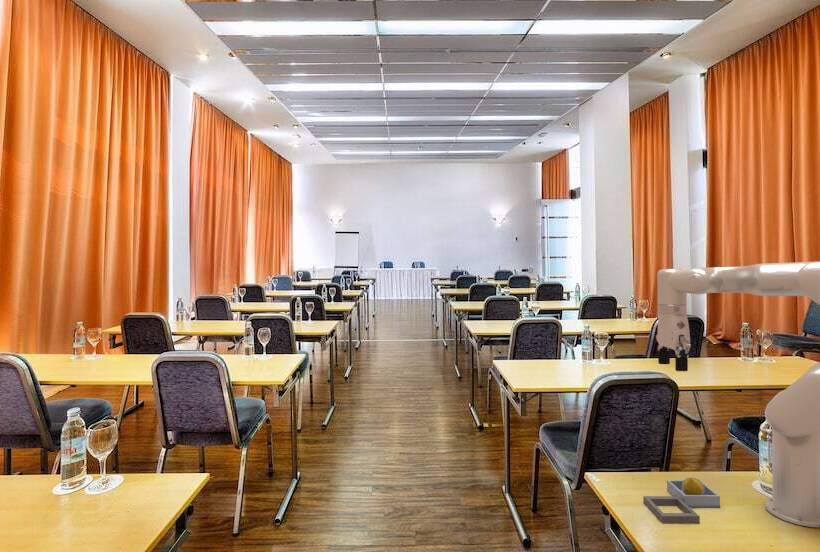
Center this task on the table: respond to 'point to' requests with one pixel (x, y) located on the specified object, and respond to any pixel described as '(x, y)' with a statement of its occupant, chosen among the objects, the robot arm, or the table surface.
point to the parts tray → (694, 496)
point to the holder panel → (685, 517)
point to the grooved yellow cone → (693, 487)
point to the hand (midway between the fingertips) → (672, 367)
